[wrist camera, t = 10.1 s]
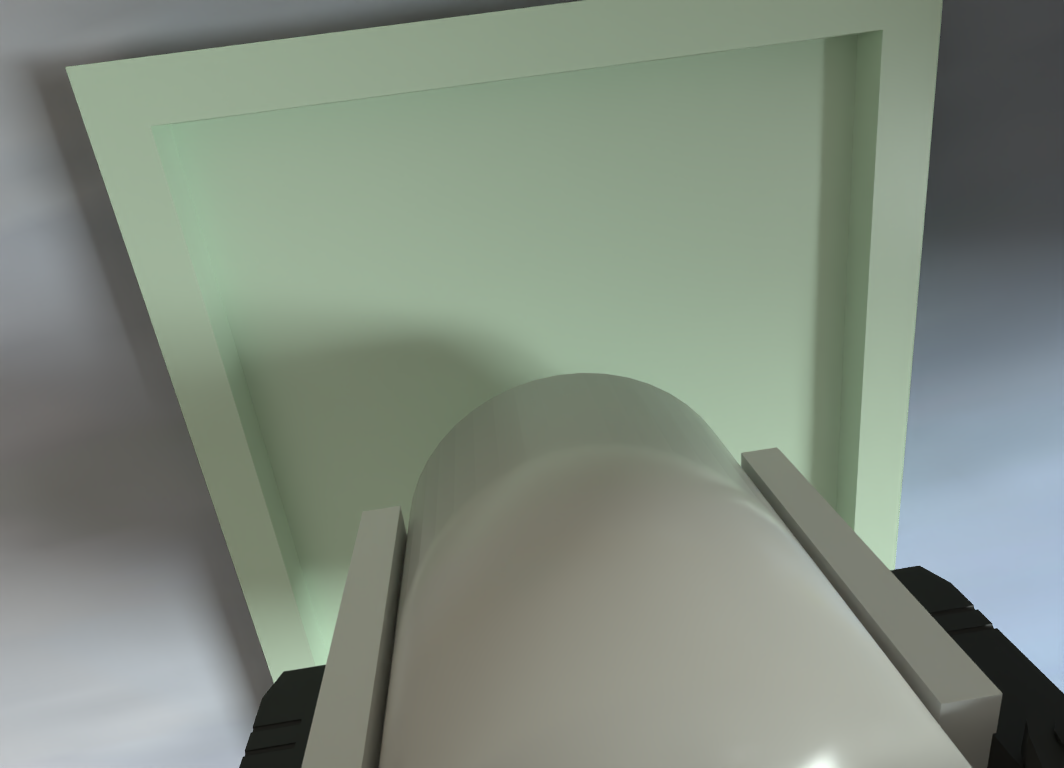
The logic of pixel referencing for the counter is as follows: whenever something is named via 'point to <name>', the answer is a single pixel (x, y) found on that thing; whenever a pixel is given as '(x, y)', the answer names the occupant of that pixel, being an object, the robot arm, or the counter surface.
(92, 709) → the counter surface
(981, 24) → the counter surface
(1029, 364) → the counter surface
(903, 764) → the cream rounded capsule
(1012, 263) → the counter surface
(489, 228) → the tray
